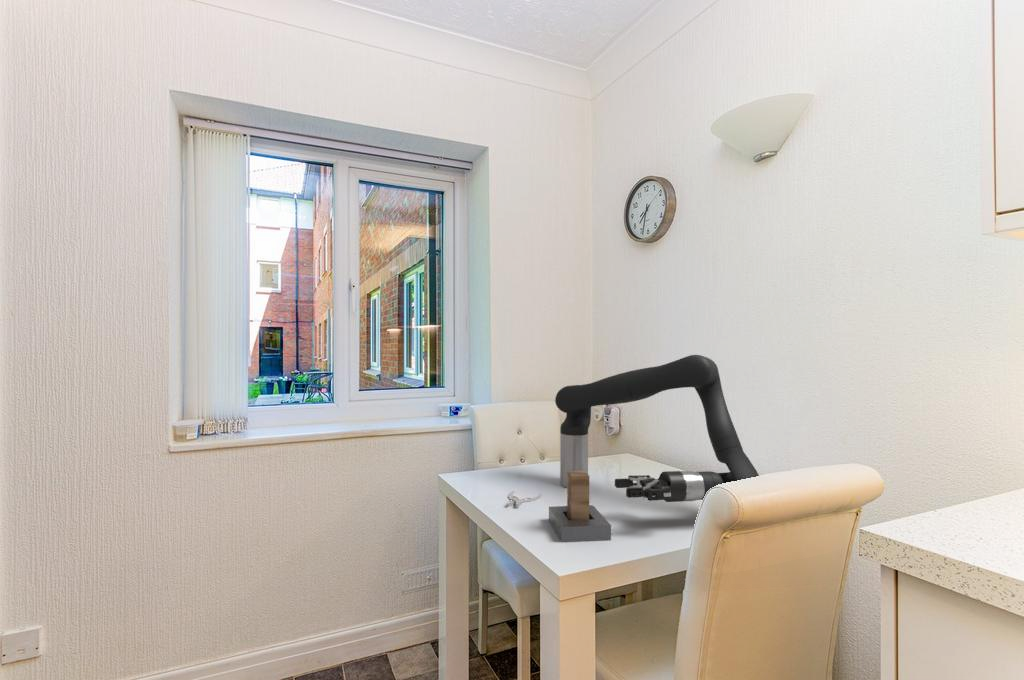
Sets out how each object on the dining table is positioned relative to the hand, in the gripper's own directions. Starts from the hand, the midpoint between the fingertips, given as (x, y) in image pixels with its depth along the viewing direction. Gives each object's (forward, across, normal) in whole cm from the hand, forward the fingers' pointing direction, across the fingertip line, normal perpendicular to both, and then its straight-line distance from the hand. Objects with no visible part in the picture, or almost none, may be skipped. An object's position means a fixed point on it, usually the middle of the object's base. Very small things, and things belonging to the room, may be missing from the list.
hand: (620, 488), depth 123 cm
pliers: (+22, -25, +11) cm, 35 cm away
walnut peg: (+11, 0, +10) cm, 15 cm away
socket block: (+11, 0, +10) cm, 15 cm away
